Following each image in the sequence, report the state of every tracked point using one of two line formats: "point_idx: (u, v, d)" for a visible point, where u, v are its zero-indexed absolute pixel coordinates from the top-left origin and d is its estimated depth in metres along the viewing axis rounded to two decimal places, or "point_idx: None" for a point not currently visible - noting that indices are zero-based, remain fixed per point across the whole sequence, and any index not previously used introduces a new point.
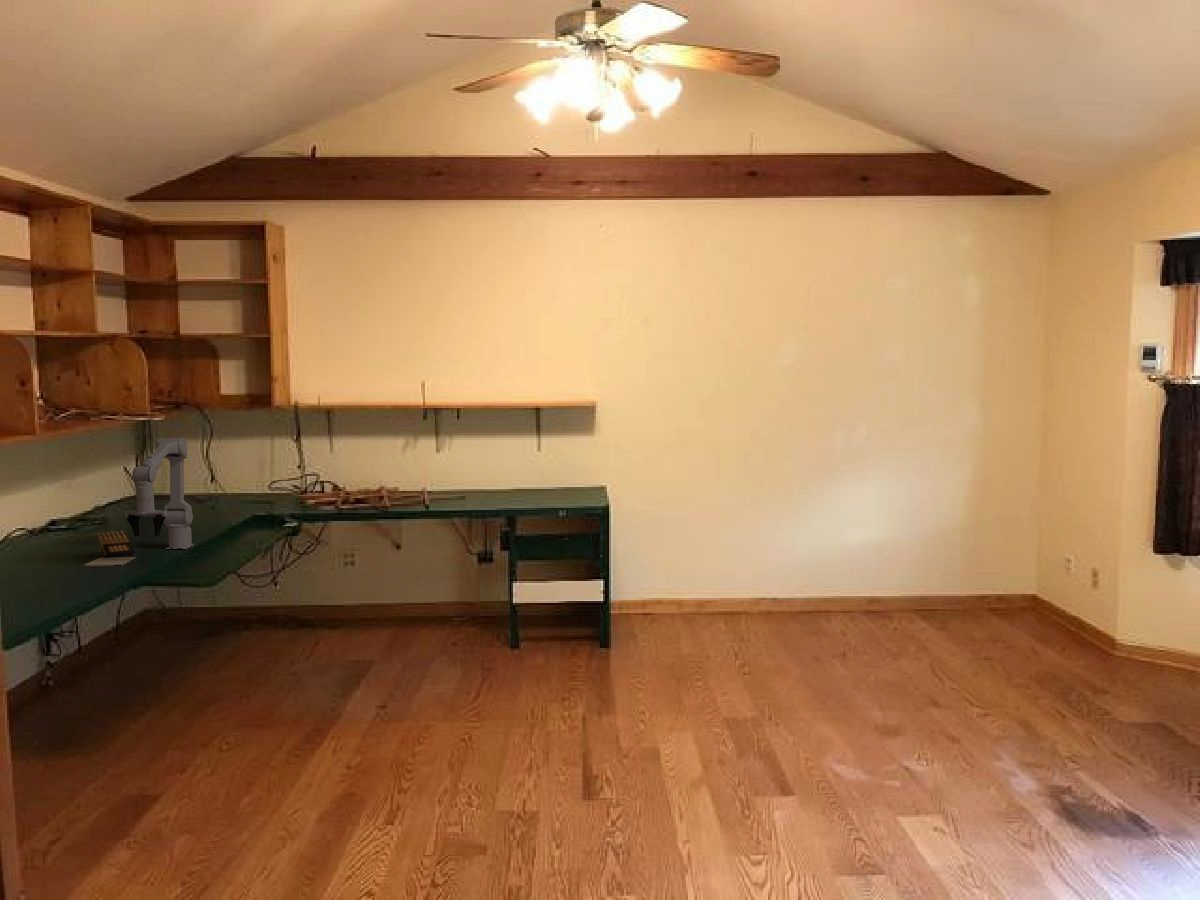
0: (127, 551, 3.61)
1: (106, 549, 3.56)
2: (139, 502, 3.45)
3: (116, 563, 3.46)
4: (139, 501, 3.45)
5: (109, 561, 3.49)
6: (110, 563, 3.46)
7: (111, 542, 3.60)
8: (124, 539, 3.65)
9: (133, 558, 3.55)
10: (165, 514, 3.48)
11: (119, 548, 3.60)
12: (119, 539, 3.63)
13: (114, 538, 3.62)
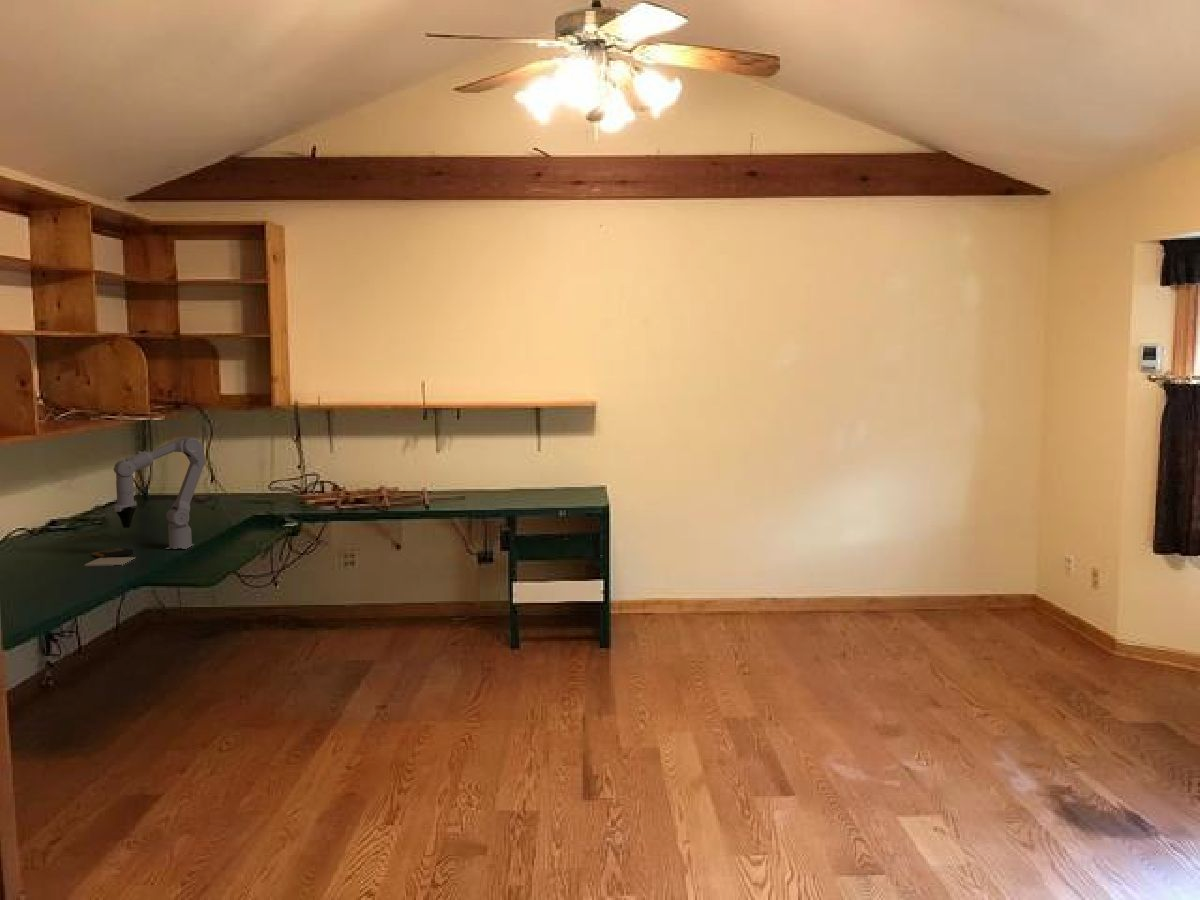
0: (124, 550, 3.62)
1: (103, 552, 3.57)
2: None
3: (116, 563, 3.46)
4: None
5: (109, 561, 3.49)
6: (110, 563, 3.46)
7: None
8: None
9: (133, 558, 3.55)
10: (116, 510, 3.56)
11: (116, 551, 3.61)
12: (115, 550, 3.65)
13: (110, 551, 3.65)
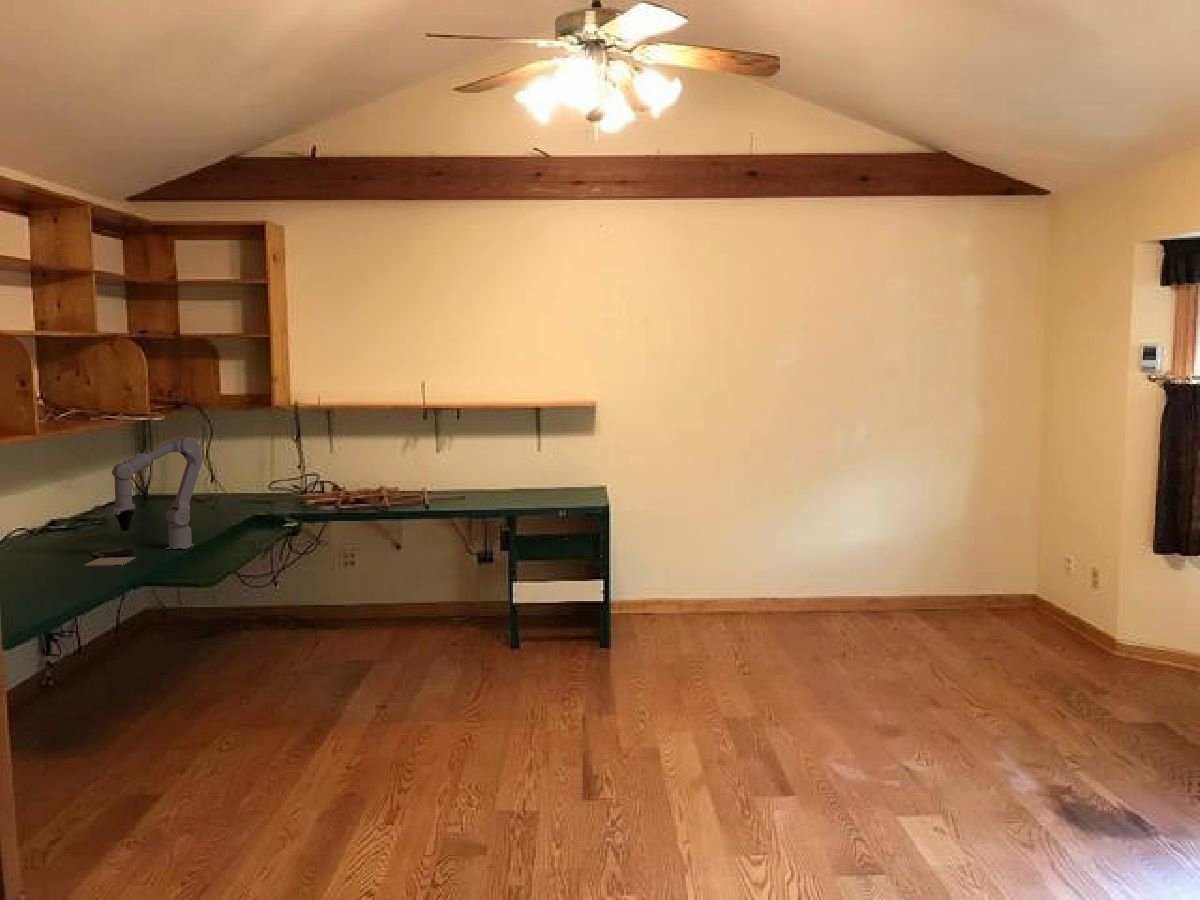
0: (124, 550, 3.62)
1: (103, 552, 3.57)
2: None
3: (116, 563, 3.46)
4: None
5: (109, 561, 3.49)
6: (110, 563, 3.46)
7: None
8: None
9: (133, 558, 3.55)
10: (115, 513, 3.55)
11: (116, 551, 3.61)
12: (115, 550, 3.65)
13: (110, 551, 3.65)
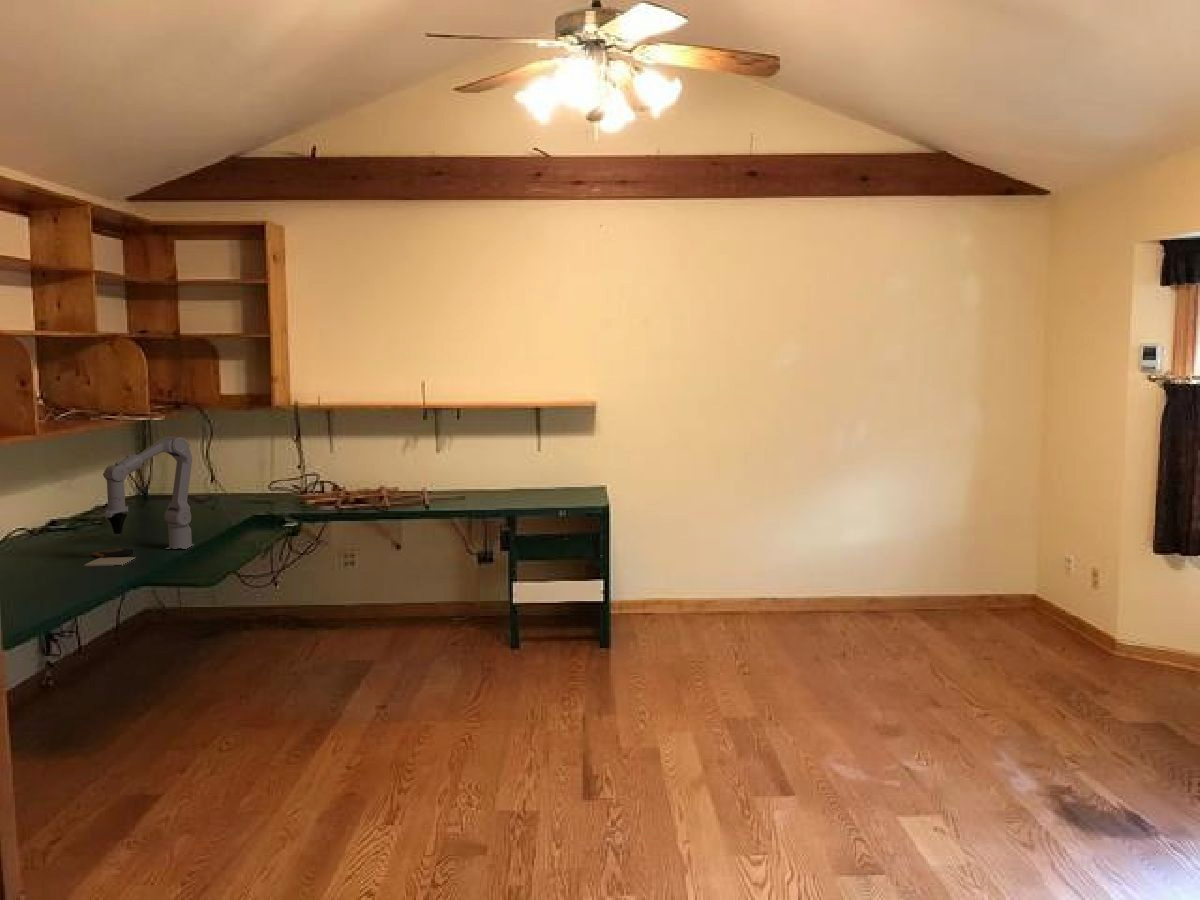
0: (124, 550, 3.62)
1: (103, 552, 3.57)
2: None
3: (116, 563, 3.46)
4: None
5: (109, 561, 3.49)
6: (110, 563, 3.46)
7: None
8: None
9: (133, 558, 3.55)
10: (107, 515, 3.49)
11: (116, 551, 3.61)
12: (115, 550, 3.65)
13: (110, 551, 3.65)
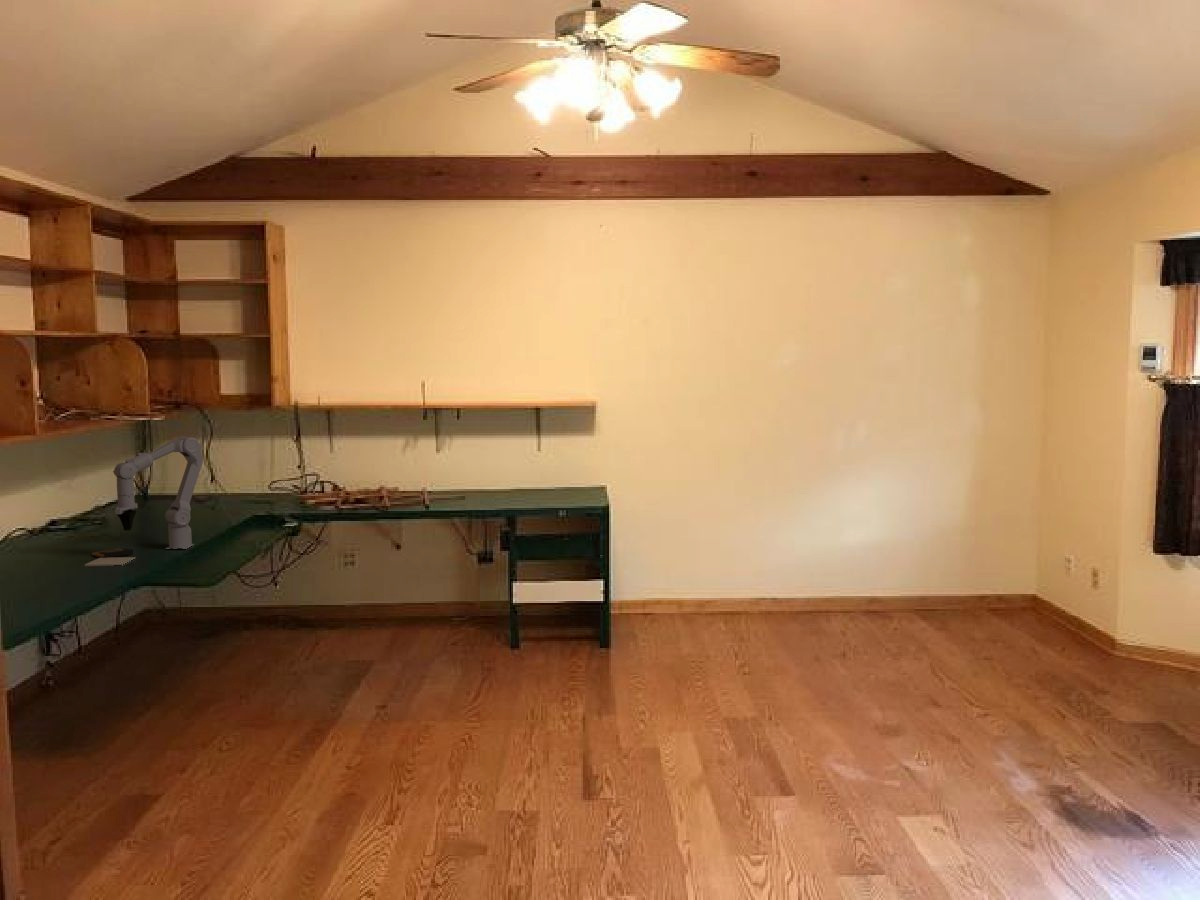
0: (124, 550, 3.62)
1: (103, 552, 3.57)
2: None
3: (116, 563, 3.46)
4: None
5: (109, 561, 3.49)
6: (110, 563, 3.46)
7: None
8: None
9: (133, 558, 3.55)
10: (117, 512, 3.54)
11: (116, 551, 3.61)
12: (115, 550, 3.65)
13: (110, 551, 3.65)
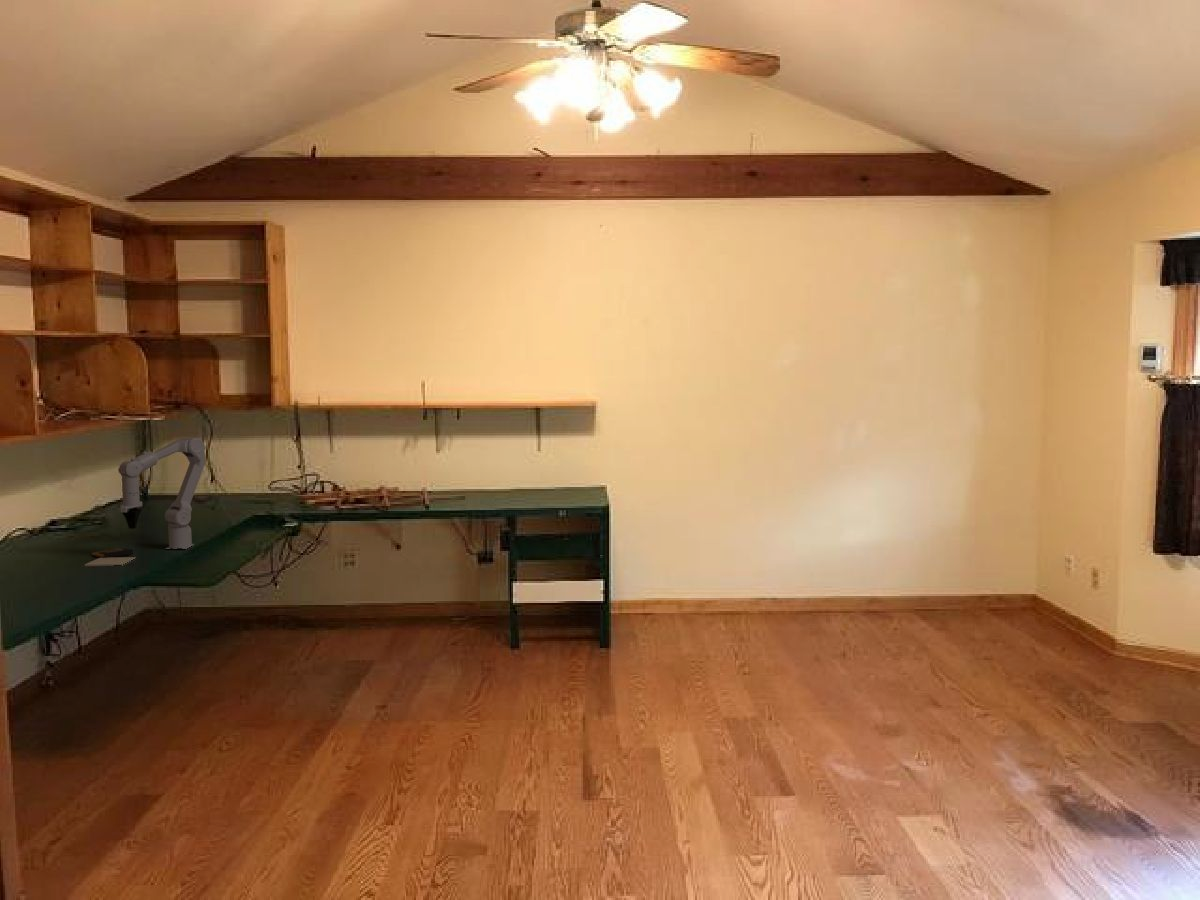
0: (124, 550, 3.62)
1: (103, 552, 3.57)
2: None
3: (116, 563, 3.46)
4: None
5: (109, 561, 3.49)
6: (110, 563, 3.46)
7: None
8: None
9: (133, 558, 3.55)
10: (122, 510, 3.54)
11: (116, 551, 3.61)
12: (115, 550, 3.65)
13: (110, 551, 3.65)
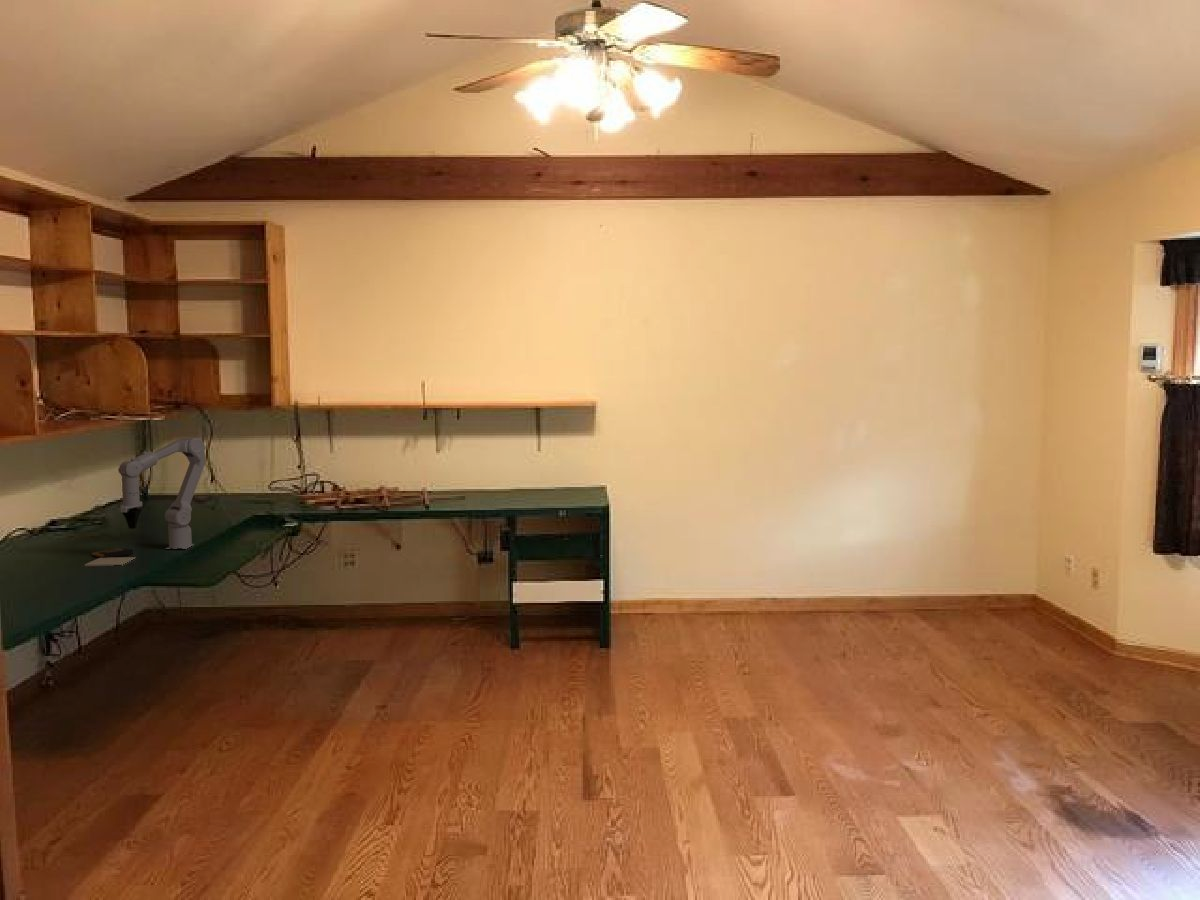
0: (124, 550, 3.62)
1: (103, 552, 3.57)
2: None
3: (116, 563, 3.46)
4: None
5: (109, 561, 3.49)
6: (110, 563, 3.46)
7: None
8: None
9: (133, 558, 3.55)
10: (122, 510, 3.54)
11: (116, 551, 3.61)
12: (115, 550, 3.65)
13: (110, 551, 3.65)
